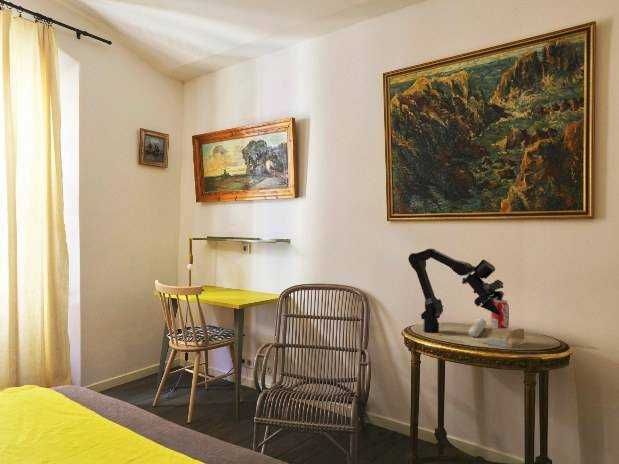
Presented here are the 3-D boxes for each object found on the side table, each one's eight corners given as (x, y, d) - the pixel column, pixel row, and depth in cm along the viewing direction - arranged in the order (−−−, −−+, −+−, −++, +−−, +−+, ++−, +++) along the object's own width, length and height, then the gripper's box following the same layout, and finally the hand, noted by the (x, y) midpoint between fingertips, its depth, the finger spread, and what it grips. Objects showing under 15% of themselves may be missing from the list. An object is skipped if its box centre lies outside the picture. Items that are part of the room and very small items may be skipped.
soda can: (509, 328, 189) (510, 300, 190) (507, 331, 183) (507, 302, 184) (492, 326, 193) (492, 299, 193) (489, 328, 187) (489, 300, 187)
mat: (482, 343, 189) (482, 342, 189) (492, 339, 196) (492, 338, 196) (505, 347, 182) (505, 346, 182) (515, 343, 189) (515, 342, 189)
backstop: (506, 347, 182) (506, 333, 182) (519, 342, 192) (519, 328, 192) (511, 348, 181) (511, 333, 181) (524, 342, 190) (524, 329, 190)
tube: (481, 330, 198) (487, 320, 220) (469, 325, 201) (477, 316, 223) (477, 341, 199) (484, 330, 221) (465, 336, 202) (473, 326, 223)
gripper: (481, 274, 185) (508, 304, 177) (500, 272, 198) (525, 300, 190) (463, 291, 190) (488, 320, 182) (482, 288, 203) (506, 315, 195)
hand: (503, 313), depth 187 cm, fingers closed on soda can, 7 cm apart
